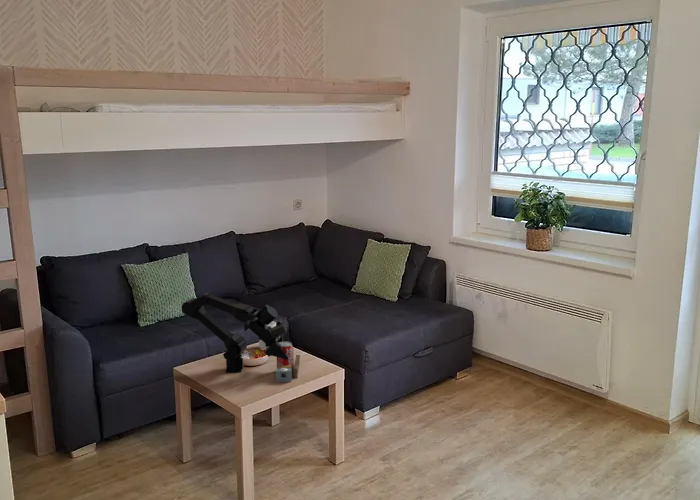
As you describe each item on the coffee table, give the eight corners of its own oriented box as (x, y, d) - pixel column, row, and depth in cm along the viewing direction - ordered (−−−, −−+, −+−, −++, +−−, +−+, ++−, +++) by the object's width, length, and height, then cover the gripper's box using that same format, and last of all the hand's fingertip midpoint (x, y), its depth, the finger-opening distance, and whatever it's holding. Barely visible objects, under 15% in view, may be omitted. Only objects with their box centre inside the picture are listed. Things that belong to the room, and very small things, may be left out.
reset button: (278, 376, 268) (277, 369, 267) (278, 372, 272) (278, 365, 271) (290, 376, 268) (290, 369, 267) (290, 372, 272) (290, 365, 271)
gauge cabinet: (276, 381, 266) (276, 370, 265) (277, 378, 269) (276, 367, 268) (291, 381, 266) (290, 370, 265) (291, 378, 269) (291, 367, 268)
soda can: (294, 367, 278) (294, 341, 276) (291, 374, 272) (291, 347, 269) (278, 366, 279) (278, 340, 276) (275, 373, 272) (274, 346, 270)
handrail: (293, 378, 270) (293, 368, 269) (296, 364, 284) (296, 354, 283) (297, 378, 270) (297, 368, 269) (299, 364, 284) (299, 354, 283)
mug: (263, 354, 295) (262, 329, 292) (256, 346, 305) (256, 321, 303) (280, 352, 298) (280, 327, 295) (273, 343, 308) (273, 319, 306)
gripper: (273, 325, 261) (300, 351, 264) (277, 310, 279) (302, 335, 282) (253, 343, 262) (281, 369, 265) (258, 328, 281) (284, 352, 283)
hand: (288, 355), depth 274 cm, fingers closed on soda can, 7 cm apart
